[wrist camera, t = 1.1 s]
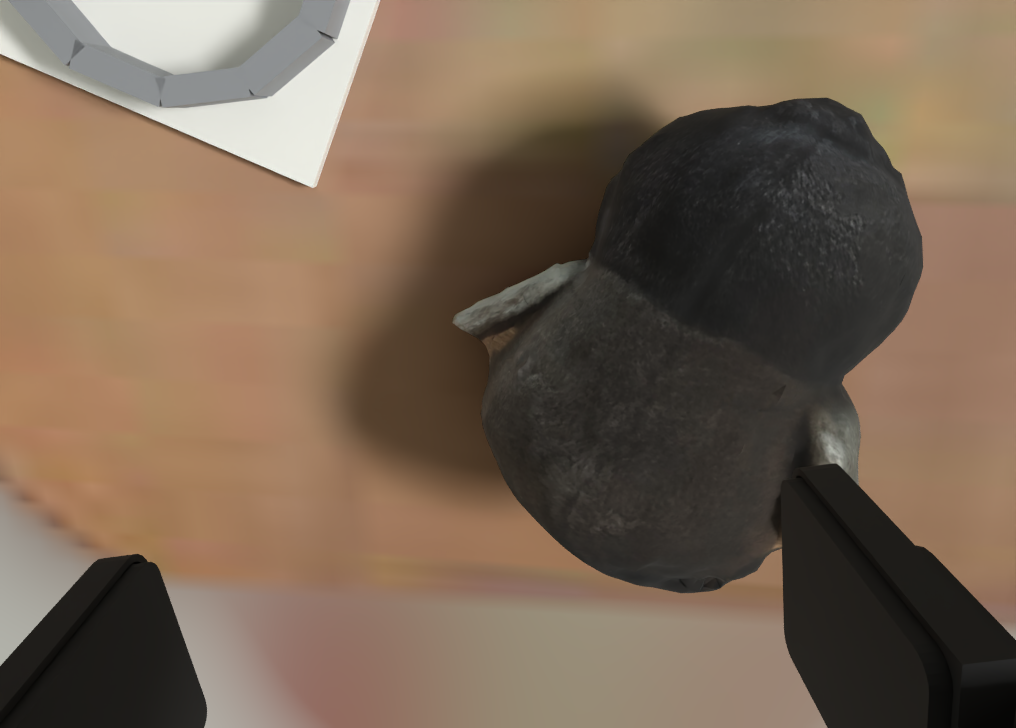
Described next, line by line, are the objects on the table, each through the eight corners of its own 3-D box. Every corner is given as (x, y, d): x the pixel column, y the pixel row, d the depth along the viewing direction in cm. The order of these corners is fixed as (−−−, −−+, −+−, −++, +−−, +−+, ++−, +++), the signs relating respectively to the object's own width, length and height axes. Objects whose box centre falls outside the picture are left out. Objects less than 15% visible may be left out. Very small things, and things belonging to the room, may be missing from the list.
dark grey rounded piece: (483, 390, 45) (349, 456, 33) (622, 39, 37) (515, -39, 26) (788, 565, 39) (760, 721, 27) (1026, 189, 32) (1129, 179, 20)
